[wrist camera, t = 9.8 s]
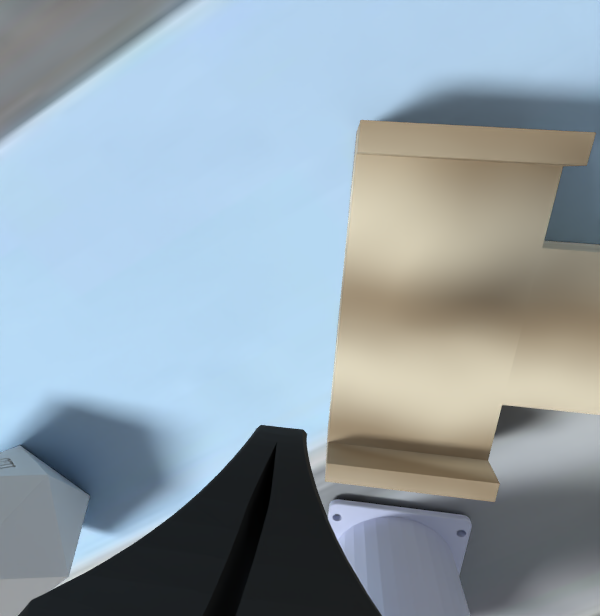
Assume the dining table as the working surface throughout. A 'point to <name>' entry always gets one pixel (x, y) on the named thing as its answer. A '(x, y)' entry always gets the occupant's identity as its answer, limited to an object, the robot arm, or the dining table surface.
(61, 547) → the die
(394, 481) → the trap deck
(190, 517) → the robot arm
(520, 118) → the dining table surface
